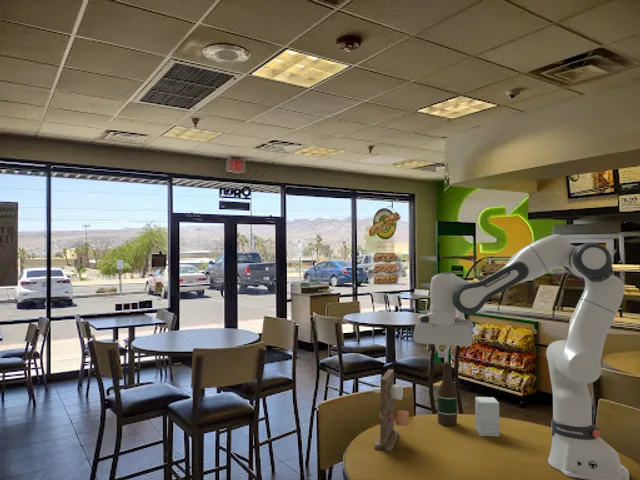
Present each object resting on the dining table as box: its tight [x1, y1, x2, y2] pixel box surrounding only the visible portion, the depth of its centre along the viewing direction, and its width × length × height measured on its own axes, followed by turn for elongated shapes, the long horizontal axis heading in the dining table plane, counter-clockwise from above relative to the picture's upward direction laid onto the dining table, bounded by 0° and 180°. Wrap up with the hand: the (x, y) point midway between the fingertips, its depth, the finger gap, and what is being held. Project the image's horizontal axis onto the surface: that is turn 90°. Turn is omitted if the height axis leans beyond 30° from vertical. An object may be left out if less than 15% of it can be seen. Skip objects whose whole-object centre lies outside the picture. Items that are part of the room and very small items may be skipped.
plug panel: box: [374, 368, 400, 452], centre depth 173 cm, size 6×16×24 cm, turn 162°
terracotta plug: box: [389, 409, 410, 427], centre depth 172 cm, size 10×5×5 cm, turn 72°
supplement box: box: [474, 396, 500, 437], centre depth 182 cm, size 7×7×13 cm
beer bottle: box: [437, 361, 458, 427], centre depth 193 cm, size 8×8×24 cm
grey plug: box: [373, 384, 404, 401], centre depth 173 cm, size 10×5×5 cm, turn 72°
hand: (442, 357), depth 170 cm, fingers closed
